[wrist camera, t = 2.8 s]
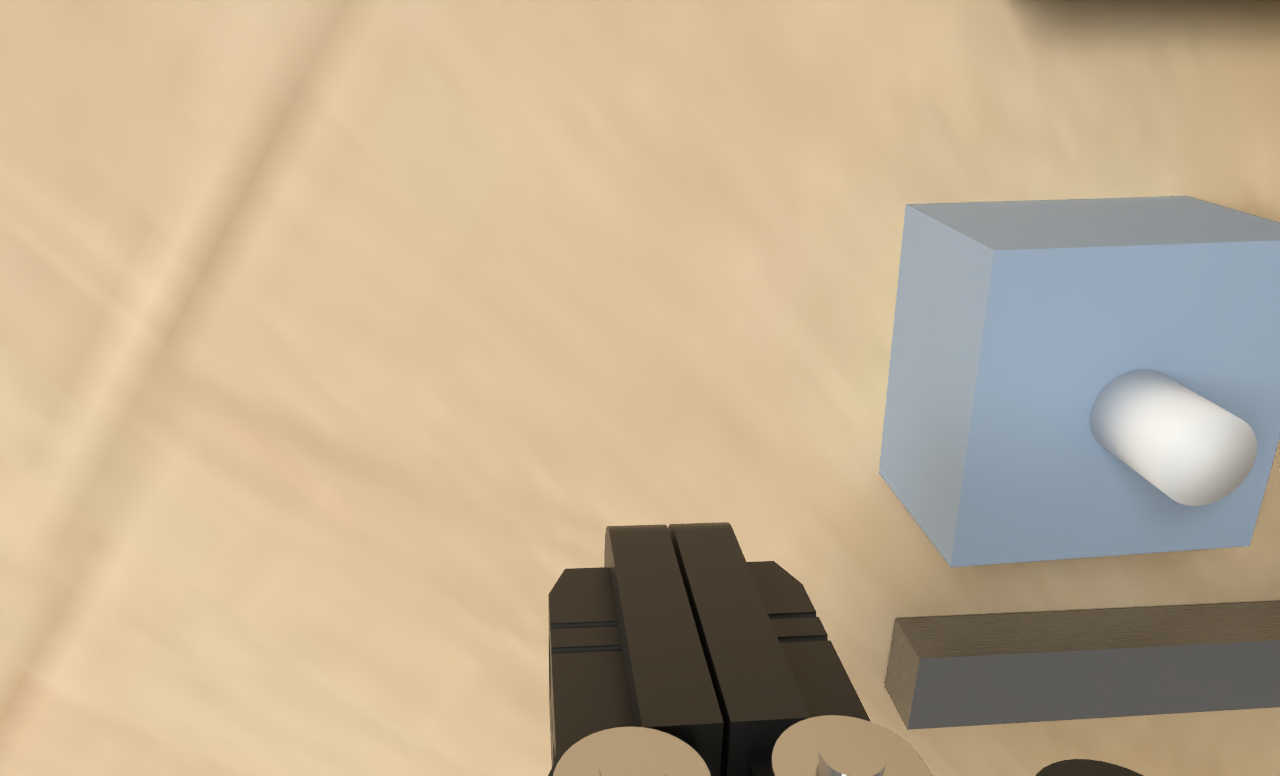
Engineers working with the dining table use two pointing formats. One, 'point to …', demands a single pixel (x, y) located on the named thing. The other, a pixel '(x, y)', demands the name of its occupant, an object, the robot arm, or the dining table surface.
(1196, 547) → the housing block
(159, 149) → the dining table surface
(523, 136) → the dining table surface
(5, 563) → the dining table surface
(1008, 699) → the press frame
